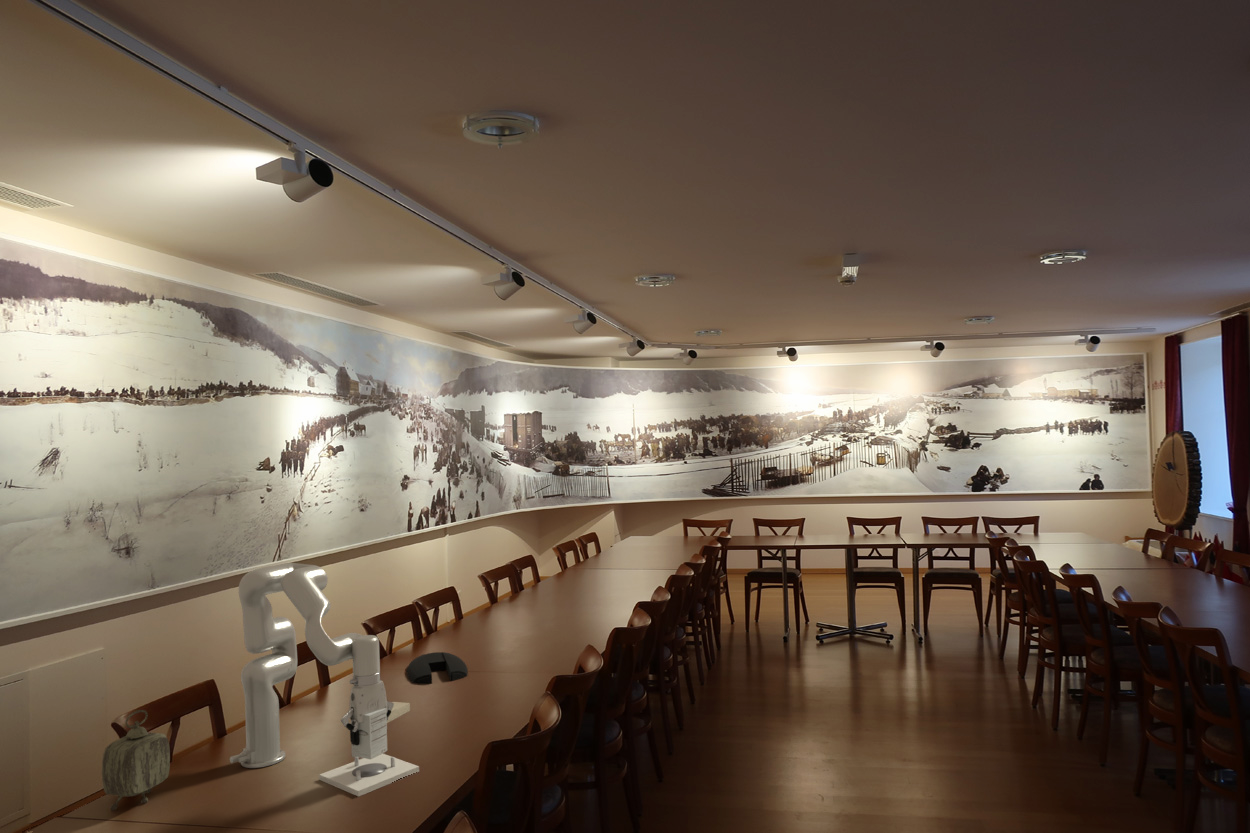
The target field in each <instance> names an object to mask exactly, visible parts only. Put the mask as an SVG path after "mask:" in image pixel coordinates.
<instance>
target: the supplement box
mask: <svg viewBox="0 0 1250 833" xmlns="http://www.w3.org/2000/svg"><path fill="white" fill-rule="evenodd" d="M353 718H354V719H355V717H354V714H353V715H352V718H351V719H353ZM351 721H352V720H350V722H351ZM355 723H356V722H354V725H355ZM387 730H388V723H387V718H386V708H385V709H381V710H378V711H375V712H372V713H369V714H366V715H364V722H363V723H360V725H359V727H358V729H357V731H359V745H357V746H356V745H353V744H352V743H351V742H350V743H351V757H353V758H354V757H359V758H360V759H362V758H366V759H373V758H375V757H377V756H379V755H381V754H382V753H383V754H385V753H386V752H387V751H388V731H387Z"/></svg>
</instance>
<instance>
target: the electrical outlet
mask: <svg viewBox="0 0 1250 833" xmlns="http://www.w3.org/2000/svg"><path fill="white" fill-rule="evenodd" d="M391 702H392V703H394V706H393V708H392V710H391V714H390V715H389V717H388V720H387V724H388V723H390V722H393V721H394V720H396V719H398V718H400V717H401V716H403V715H404V714H406V713H409V712H410V711H411V704H410V702H400V701H391Z"/></svg>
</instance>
